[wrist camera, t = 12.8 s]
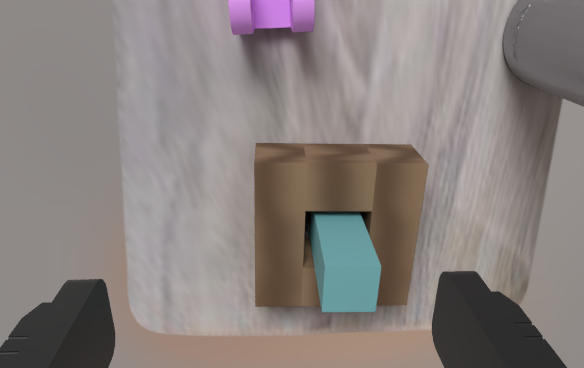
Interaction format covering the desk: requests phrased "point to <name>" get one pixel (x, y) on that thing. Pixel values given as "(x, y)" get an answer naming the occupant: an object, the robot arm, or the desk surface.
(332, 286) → the peg
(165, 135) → the desk surface
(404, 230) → the socket block
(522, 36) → the robot arm
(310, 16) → the bracket
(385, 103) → the desk surface
